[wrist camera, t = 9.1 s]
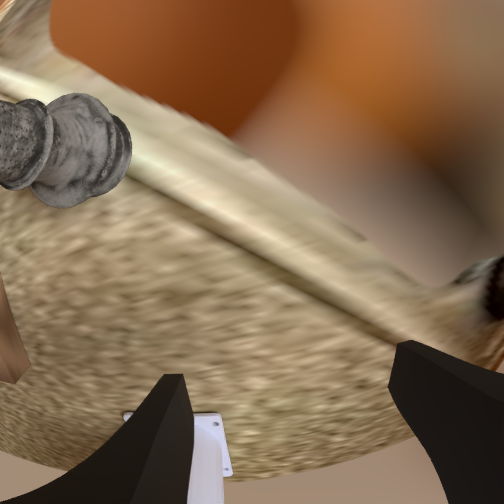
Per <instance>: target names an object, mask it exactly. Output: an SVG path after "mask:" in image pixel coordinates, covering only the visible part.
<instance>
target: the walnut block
mask: <svg viewBox="0 0 504 504" xmlns="http://www.w3.org/2000/svg"><path fill="white" fill-rule="evenodd" d="M30 365H31V363H30V361H29V359H28V356H27V354H26V351H25V349H24V346H23V344H22V341H21V339H20V336H19V333H18V331H17V328H16V325H15V322H14V319H13V316H12V313H11V310H10V306H9V303H8V300H7V296H6V293H5V289H4V285H3V281H2V277H1V273H0V381H3V382H7V383H12V384H15V383H16V382H17V381H18V380H19V378H20V377H21V376H22V375H23V374H24V372H25V371H26V370H27V369H28V368H29V367H30Z"/></svg>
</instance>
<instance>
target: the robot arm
mask: <svg viewBox="0 0 504 504" xmlns="http://www.w3.org/2000/svg"><path fill="white" fill-rule="evenodd" d="M388 389H389V391H390V393H391V396H392V398H393V400H394V402H395V404H396V406H397V408H398V410H399V411H400V413H401V414H402V416H403V417H404V419H405V420H406V422H407V423H408V425H409V426H410V428H411V429H412V431H413V432H414V434H415V435H416V437H417V438H418V440H419V441H420V443H421V444H422V446H423V447H424V448H425V450H426V452H427V454H428V455H429V457H430V459H431V461H432V463H433V465H434V467H435V469H436V472H437V474H438V476H439V478H440V481H441V483H442V486H443V489H444V491H445V494H446V497H447V500H448V503H449V504H504V374H502V373H498V372H495V371H491V370H488V369H485V368H482V367H479V366H476V365H473V364H471V363H468V362H466V361H463V360H461V359H458V358H456V357H453V356H451V355H449V354H446V353H444V352H441V351H439V350H437V349H434V348H432V347H430V346H427V345H425V344H422V343H420V342H417V341H414V340H408V341H405V342H401V343H397V348H396V353H395V358H394V363H393V367H392V372H391V376H390V380H389V384H388ZM123 418H124V421H125V423H124V424H123V425H122V426H121V427H120V428H119V430H118V431H117V432H116V433H115V434H114V435H113V436H112V437H111V438H110V439H109V440H108V441H107V442H106V443H105V444H103V445H102V446H101V447H100V448H99V449H98V450H97V451H96V452H94V453H93V454H92V455H91V456H90V457H88V458H87V459H86V460H84V461H83V462H81V463H80V464H79V465H77V466H76V467H74V468H73V469H71V470H70V471H68V472H67V473H65V474H64V475H62V476H61V477H59V478H57V479H55V480H53V481H52V482H50V483H48V484H46V485H44V486H42V487H40V488H38V489H36V490H33V491H31V492H29V493H26V494H23V495H21V496H17V497H15V498H11V499H8V500H5V501H2V502H0V504H224V490H223V477H227V476H231V475H233V471H232V467H231V462H230V457H229V453H228V448H227V443H226V438H225V433H224V428H223V423H222V418H221V415H220V414H218V413H199V414H193V411H192V407H191V403H190V400H189V396H188V392H187V388H186V384H185V380H184V376H183V374H164V375H163V376H162V377H161V379H160V380H159V381H158V382H157V384H156V385H155V386H154V388H153V389H152V390H151V392H150V393H149V394H148V396H147V397H146V398H145V399H144V401H143V402H142V403H141V404H140V406H139V407H138V408H137V409H136V410H135V412H134V413H132V412H126V413H125V414H124V416H123ZM214 422H217V423H214Z"/></svg>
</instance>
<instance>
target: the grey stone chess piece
mask: <svg viewBox="0 0 504 504" xmlns="http://www.w3.org/2000/svg"><path fill="white" fill-rule="evenodd" d="M131 156H132V141H131V137H130V133H129V131H128V129H127V127H126V125H125V124H124V123H123V122H122V121H121V120H120V119H119V118H118V117H117V116H115V115H113V114H111V113H109V111H108V109H107V108H106V107H105V106H104V105H103V104H102V103H101V102H100V101H99V100H98V99H97V98H94V97H92V96H90V95H88V94H82V93H72V94H68V95H63V96H61V97H59V98H57V99H56V100H54V101H52V102H50V103H49V104H48V105H47V106H45V104H44V103H42V102H40V101H38V100H36V99H25V100H22V101H19V102H18V103H16V104H14V103H11V102H7V101H3V100H0V185H1V186H3V187H4V188H5V189H8V190H12V191H15V190H21V189H24V188H26V187H27V186H29V188H30V190H31V191H32V192H33V193H34V195H35V196H36V197H37V198H38V199H39V200H40V201H42V202H43V203H45V204H46V205H48V206H52V207H56V208H69V207H73V206H75V205H78V204H80V203H83V202H84V201H86V200H87V199H88V198H89V197H96V196H100V195H102V194H105V193H107V192H109V191H110V190H111V189H113V188H114V187H116V186H117V184H118V183H119V182H120V181H121V180H122V178H123V177H124V175H125V173H126V171H127V169H128V167H129V164H130V160H131Z"/></svg>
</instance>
